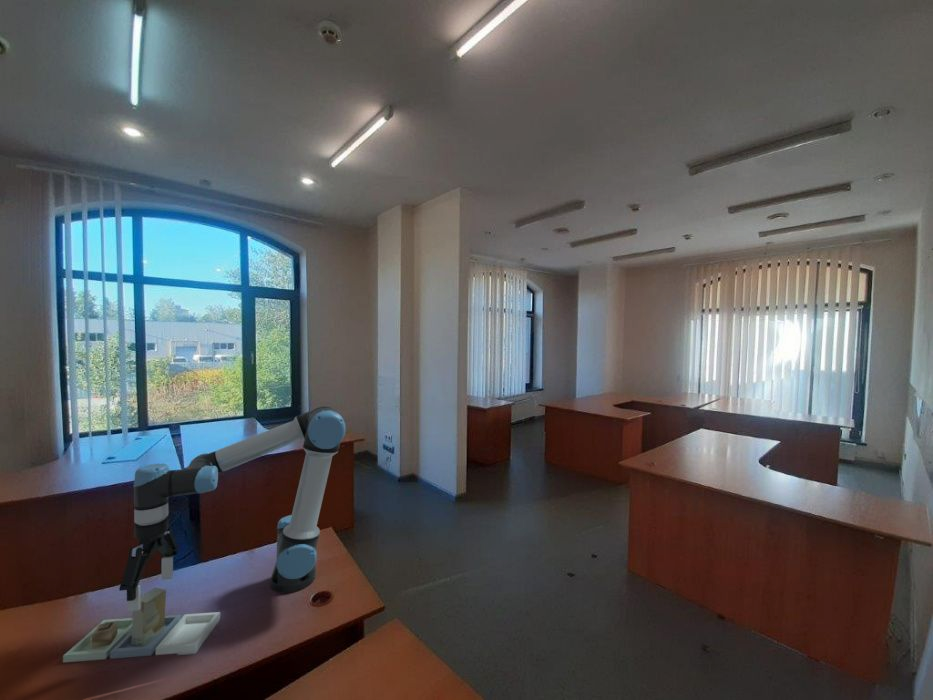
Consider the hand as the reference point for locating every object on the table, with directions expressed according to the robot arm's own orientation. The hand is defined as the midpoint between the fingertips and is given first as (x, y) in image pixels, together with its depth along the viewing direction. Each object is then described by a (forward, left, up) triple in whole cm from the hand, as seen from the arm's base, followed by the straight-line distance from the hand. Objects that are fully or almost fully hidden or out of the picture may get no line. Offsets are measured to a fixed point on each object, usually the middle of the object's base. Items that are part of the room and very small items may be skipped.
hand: (151, 593), depth 106 cm
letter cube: (+11, 0, -13) cm, 17 cm away
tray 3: (-11, 0, -13) cm, 17 cm away
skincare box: (0, 0, -13) cm, 13 cm away
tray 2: (0, 0, -13) cm, 13 cm away
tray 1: (+11, 0, -13) cm, 18 cm away
